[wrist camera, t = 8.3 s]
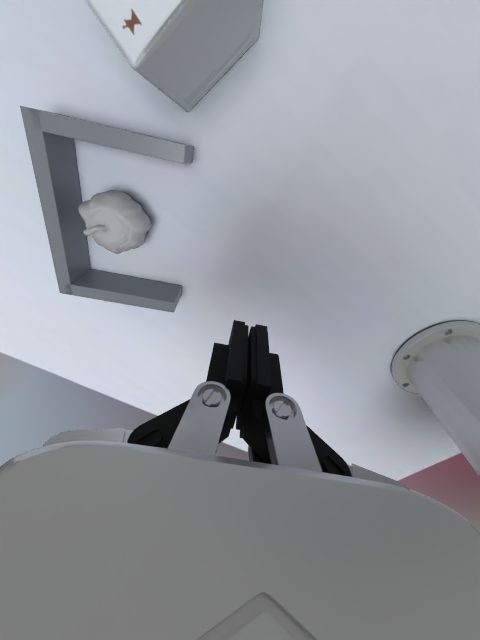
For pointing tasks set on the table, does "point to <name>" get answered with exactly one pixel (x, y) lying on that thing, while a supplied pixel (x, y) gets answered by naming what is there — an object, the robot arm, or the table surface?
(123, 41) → the supplement box
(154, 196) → the table surface
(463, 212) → the table surface
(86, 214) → the garlic
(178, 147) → the box
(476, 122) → the table surface
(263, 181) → the table surface
